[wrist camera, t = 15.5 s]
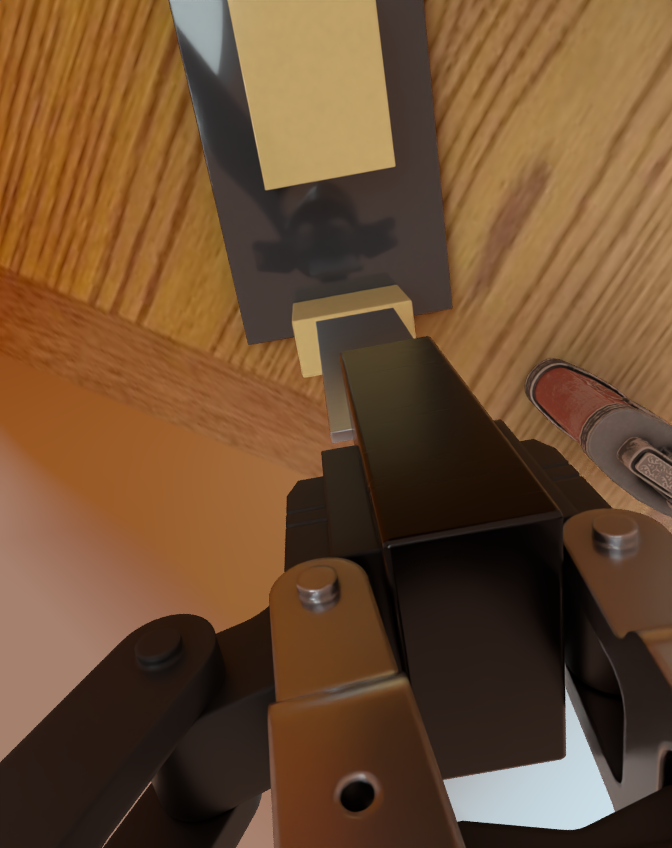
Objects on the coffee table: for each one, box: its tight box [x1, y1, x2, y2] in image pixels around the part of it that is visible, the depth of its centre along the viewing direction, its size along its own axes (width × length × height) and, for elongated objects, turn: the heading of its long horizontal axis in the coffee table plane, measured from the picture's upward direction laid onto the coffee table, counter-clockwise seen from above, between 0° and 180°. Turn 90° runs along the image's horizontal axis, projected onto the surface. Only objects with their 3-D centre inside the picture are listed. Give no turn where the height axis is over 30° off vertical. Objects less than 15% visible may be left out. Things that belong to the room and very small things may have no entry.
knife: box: [316, 308, 566, 780], centre depth 15 cm, size 3×4×17 cm
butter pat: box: [292, 285, 416, 378], centre depth 27 cm, size 5×2×4 cm, turn 100°
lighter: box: [525, 358, 672, 517], centre depth 28 cm, size 8×3×10 cm, turn 57°
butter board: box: [168, 0, 452, 345], centre depth 25 cm, size 10×16×5 cm, turn 10°
